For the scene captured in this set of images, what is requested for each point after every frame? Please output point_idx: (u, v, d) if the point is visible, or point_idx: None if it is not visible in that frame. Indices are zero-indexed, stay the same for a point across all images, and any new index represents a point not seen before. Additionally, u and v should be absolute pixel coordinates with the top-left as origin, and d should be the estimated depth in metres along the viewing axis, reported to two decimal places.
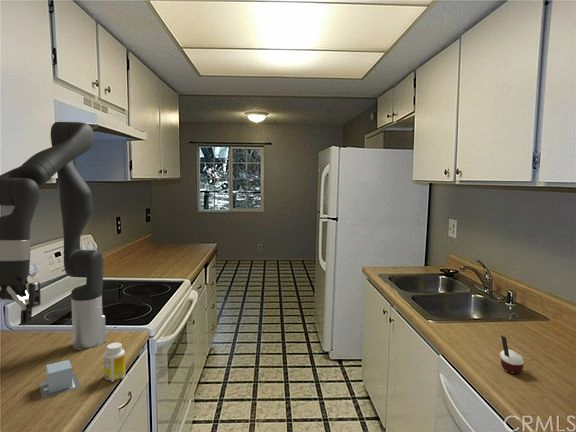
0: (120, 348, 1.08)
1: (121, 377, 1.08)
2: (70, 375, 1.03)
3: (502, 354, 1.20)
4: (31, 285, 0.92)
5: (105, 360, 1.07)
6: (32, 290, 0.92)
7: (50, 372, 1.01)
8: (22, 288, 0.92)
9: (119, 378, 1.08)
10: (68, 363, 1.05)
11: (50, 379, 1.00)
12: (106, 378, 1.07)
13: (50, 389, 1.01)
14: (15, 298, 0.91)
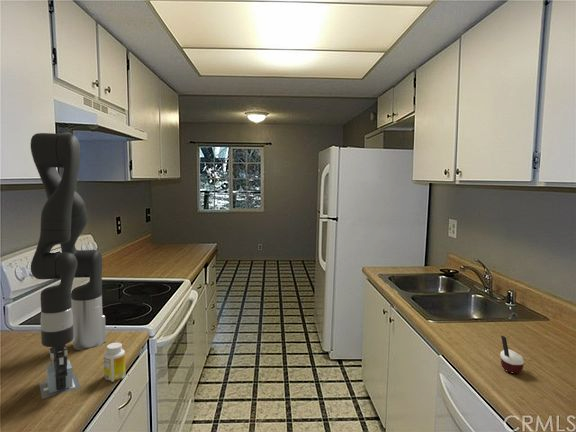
0: (120, 348, 1.08)
1: (121, 377, 1.08)
2: (70, 375, 1.03)
3: (502, 354, 1.20)
4: (55, 360, 0.97)
5: (105, 360, 1.07)
6: (56, 365, 0.98)
7: (50, 372, 1.01)
8: (56, 359, 1.00)
9: (119, 378, 1.08)
10: (68, 363, 1.05)
11: (50, 379, 1.00)
12: (106, 378, 1.07)
13: (50, 389, 1.01)
14: (52, 364, 1.01)
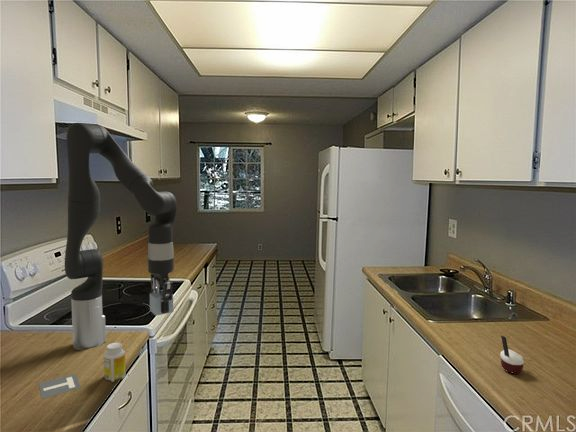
0: (120, 348, 1.08)
1: (121, 377, 1.08)
2: (171, 301, 1.17)
3: (502, 354, 1.20)
4: (164, 285, 1.11)
5: (105, 360, 1.07)
6: (164, 289, 1.11)
7: (156, 297, 1.14)
8: (162, 285, 1.13)
9: (119, 378, 1.08)
10: None
11: (156, 303, 1.14)
12: (106, 378, 1.07)
13: (156, 312, 1.14)
14: (158, 290, 1.14)
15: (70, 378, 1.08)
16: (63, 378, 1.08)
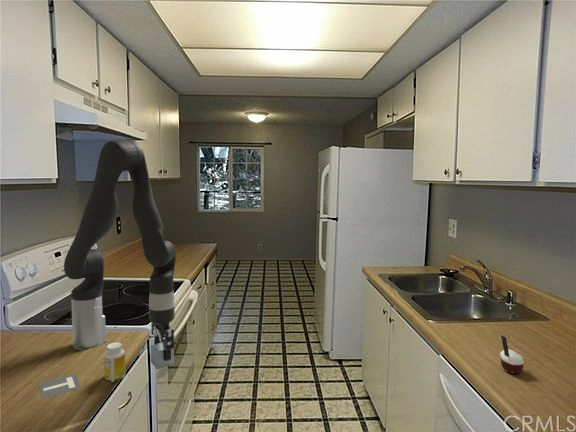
0: (120, 348, 1.08)
1: (121, 377, 1.08)
2: (172, 354, 1.19)
3: (502, 354, 1.20)
4: (165, 332, 1.13)
5: (105, 360, 1.07)
6: (165, 336, 1.13)
7: (157, 351, 1.16)
8: (163, 332, 1.15)
9: (119, 378, 1.08)
10: (168, 344, 1.21)
11: (157, 356, 1.16)
12: (106, 378, 1.07)
13: (157, 365, 1.16)
14: (159, 339, 1.16)
15: (70, 378, 1.08)
16: (63, 378, 1.08)
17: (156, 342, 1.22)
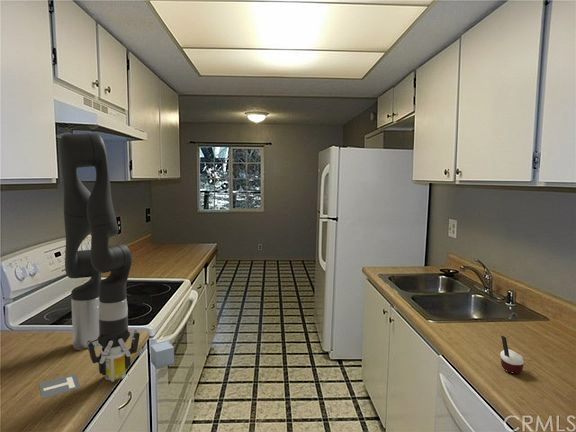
0: (120, 348, 1.08)
1: (121, 377, 1.08)
2: (172, 354, 1.19)
3: (502, 354, 1.20)
4: (138, 335, 1.11)
5: (105, 360, 1.07)
6: (138, 339, 1.11)
7: (157, 351, 1.16)
8: None
9: (119, 378, 1.08)
10: (168, 344, 1.21)
11: (157, 356, 1.16)
12: (106, 378, 1.07)
13: (157, 365, 1.16)
14: (124, 347, 1.09)
15: (70, 378, 1.08)
16: (63, 378, 1.08)
17: (104, 365, 1.07)
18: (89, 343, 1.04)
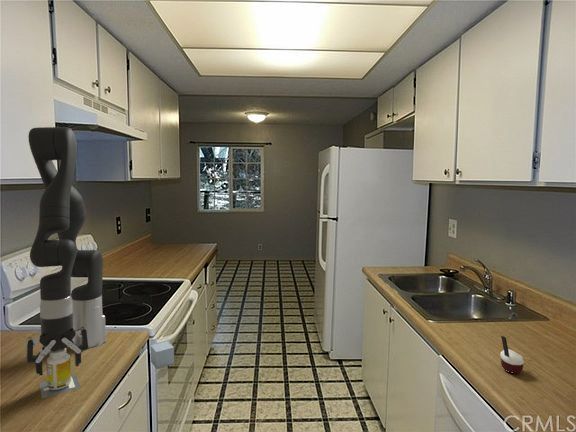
0: (64, 353, 1.03)
1: (65, 383, 1.03)
2: (172, 354, 1.19)
3: (502, 354, 1.20)
4: (85, 331, 1.06)
5: (47, 366, 1.01)
6: (86, 335, 1.06)
7: (157, 351, 1.16)
8: (74, 336, 1.04)
9: (63, 384, 1.02)
10: (168, 344, 1.21)
11: (157, 356, 1.16)
12: (49, 385, 1.02)
13: (157, 365, 1.16)
14: (71, 346, 1.03)
15: None
16: None
17: None
18: (29, 340, 0.98)
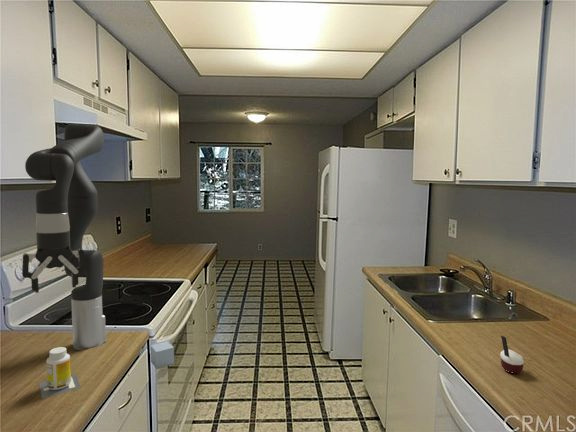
0: (64, 353, 1.03)
1: (65, 383, 1.03)
2: (172, 354, 1.19)
3: (502, 354, 1.20)
4: (82, 251, 1.03)
5: (47, 366, 1.01)
6: (83, 255, 1.04)
7: (157, 351, 1.16)
8: (71, 255, 1.02)
9: (63, 384, 1.02)
10: (168, 344, 1.21)
11: (157, 356, 1.16)
12: (49, 385, 1.02)
13: (157, 365, 1.16)
14: (67, 265, 1.01)
15: None
16: None
17: None
18: (25, 254, 0.96)
